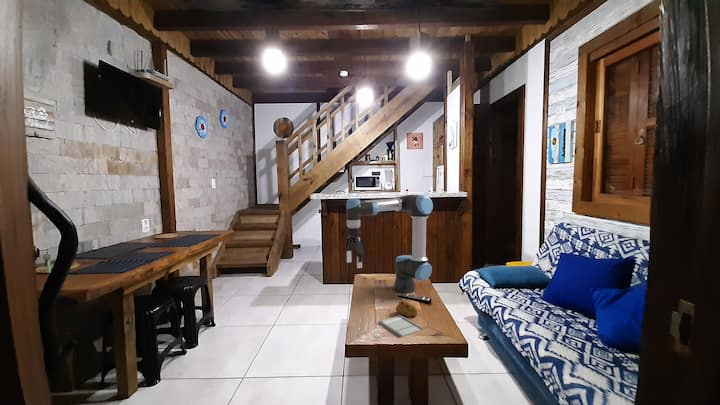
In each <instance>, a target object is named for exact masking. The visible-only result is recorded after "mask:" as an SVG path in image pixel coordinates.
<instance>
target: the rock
mask: <svg viewBox="0 0 720 405" xmlns="http://www.w3.org/2000/svg"><path fill="white" fill-rule="evenodd" d="M395 311H396V314H397V315H401V316H406V317H408V318H411V317H416V316H418V315H419V314H418V308H417V306H414V305H412V304H411V303H410V302H408V301H406V300H405V299H402V300H400V301H399V302H398V304H397V305H396V307H395Z"/></svg>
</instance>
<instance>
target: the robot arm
mask: <svg viewBox="0 0 720 405" xmlns="http://www.w3.org/2000/svg"><path fill="white" fill-rule="evenodd" d="M345 205H346V206H345V207H346V222H345V223H346V227H347V228H346V240H345V244H344V250H345V251H346V263H347V264H348V263H352V262H353V261H352V247H354V248H355V252H356V268H357V269H362V268H363V256H364V255H365V252H364V247H363V242H362V237H359V235H360V234H361V217H363V216H375V215H377V214H378V213H379V212H388V211H395V212H406V213H409V214H410V217H411V219H412V237H411V239H412V243H411V255H410V254H408V255H407V254H403V255H398V256H396V258H395V279H394V284H393V286H392V288H393V290H394V291H395V292H396V293H400V294H401V293H402V294H403V293H404V294H410V293H414V292H415V291H416V289H417V287H416V283H415V280H417V281H421V282H424V281H426V280H428V279H429V277H431V275H432V272H433V271H432V270H433V268H432V265H431V264H430V263H429V258H428V257H427V254H426V253H427V252H426V251H427V250H426V249H427V219H428V218H429V217H430V214H431V213H432V211H433V208H434V204H433V201H432V199H431V198H430V197H429V196H427V195H423V194H420V195H419V194H406V195H401V196H395V197H393V198H385V199H384V198H383V199H369V200H360V198H352V199H351V198H349V199H347V200H346V204H345Z"/></svg>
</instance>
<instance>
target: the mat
mask: <svg viewBox="0 0 720 405" xmlns="http://www.w3.org/2000/svg"><path fill="white" fill-rule="evenodd" d="M378 324H380V325H381V326H383V327H385V329H387V330H388V331H390V332H392V333H394V334H395V335H396V336H397V337H399V338H402V337H406V336H409V335H411V334H415V333H418V332H420V331H423V327H422V326H420V325H419V324H417V323H415V322H413V321H412V320H410V319H408V318H406V317H405V316H404V315H401V314H397V316H393V317H390V318H386V319H383V320H380V319H379V320H378Z"/></svg>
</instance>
